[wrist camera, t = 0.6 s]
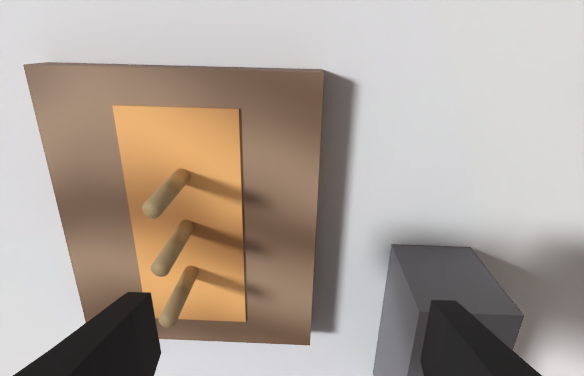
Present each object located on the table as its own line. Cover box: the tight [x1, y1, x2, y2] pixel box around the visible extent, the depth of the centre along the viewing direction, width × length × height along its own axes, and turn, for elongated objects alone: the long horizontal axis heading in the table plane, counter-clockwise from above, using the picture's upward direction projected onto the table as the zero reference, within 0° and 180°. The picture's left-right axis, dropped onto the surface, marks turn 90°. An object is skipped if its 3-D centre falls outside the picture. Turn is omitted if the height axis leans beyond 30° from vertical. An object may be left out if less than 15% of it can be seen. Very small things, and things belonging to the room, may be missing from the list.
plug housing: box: [373, 244, 524, 376], centre depth 18 cm, size 9×4×5 cm, turn 179°
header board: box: [23, 62, 324, 345], centre depth 16 cm, size 14×12×5 cm
